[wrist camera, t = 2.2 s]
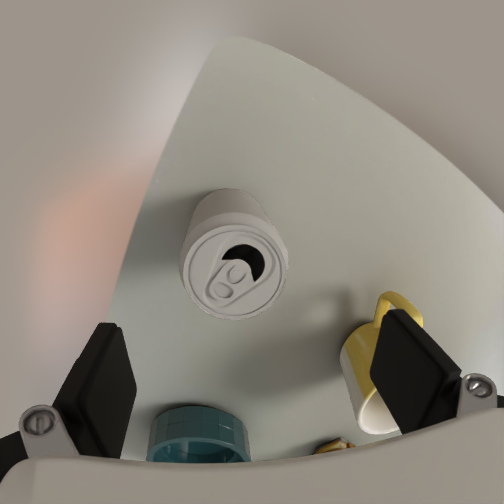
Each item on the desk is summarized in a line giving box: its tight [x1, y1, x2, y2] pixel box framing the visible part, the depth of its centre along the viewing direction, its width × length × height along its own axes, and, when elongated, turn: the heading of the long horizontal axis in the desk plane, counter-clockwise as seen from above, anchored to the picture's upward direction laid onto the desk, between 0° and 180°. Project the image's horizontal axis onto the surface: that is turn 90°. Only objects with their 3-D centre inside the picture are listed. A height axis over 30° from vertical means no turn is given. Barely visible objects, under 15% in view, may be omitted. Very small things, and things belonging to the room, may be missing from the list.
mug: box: [340, 291, 423, 434], centre depth 29 cm, size 14×10×10 cm
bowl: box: [146, 406, 251, 464], centre depth 34 cm, size 13×13×6 cm
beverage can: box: [179, 189, 288, 320], centre depth 23 cm, size 6×6×12 cm
